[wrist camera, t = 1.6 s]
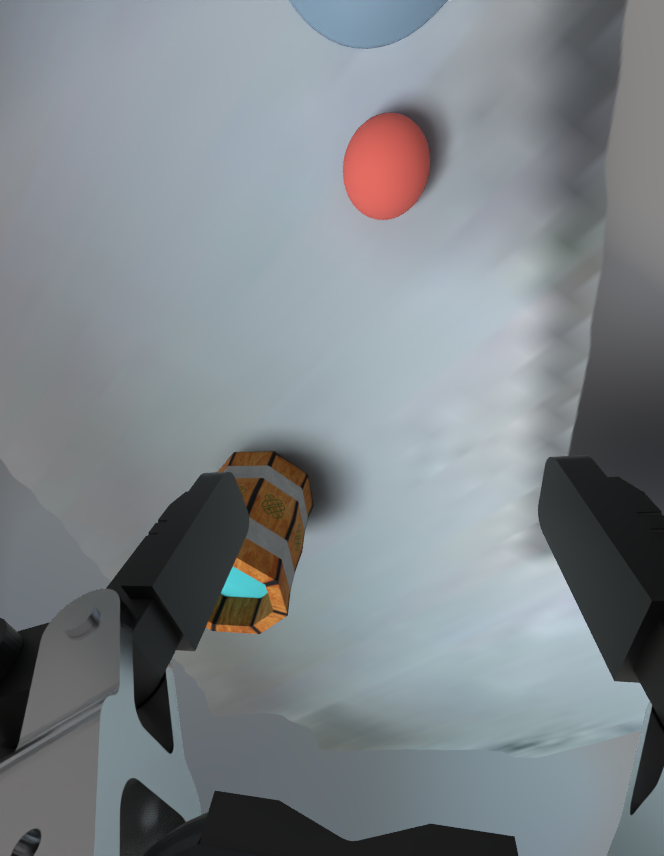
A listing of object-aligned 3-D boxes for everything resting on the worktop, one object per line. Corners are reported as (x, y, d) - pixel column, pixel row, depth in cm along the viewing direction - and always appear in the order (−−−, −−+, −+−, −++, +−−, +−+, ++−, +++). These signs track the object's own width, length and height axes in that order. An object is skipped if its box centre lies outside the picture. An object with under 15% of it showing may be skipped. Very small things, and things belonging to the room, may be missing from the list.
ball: (350, 223, 29) (343, 226, 24) (342, 131, 26) (333, 111, 21) (424, 213, 28) (434, 213, 23) (425, 116, 25) (437, 91, 20)
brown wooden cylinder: (278, 433, 41) (233, 531, 28) (333, 511, 47) (315, 623, 34) (160, 483, 48) (80, 581, 35) (220, 546, 53) (170, 651, 41)
